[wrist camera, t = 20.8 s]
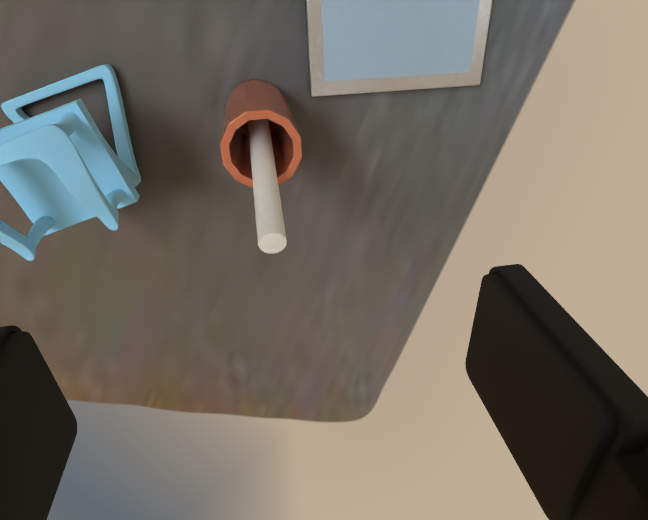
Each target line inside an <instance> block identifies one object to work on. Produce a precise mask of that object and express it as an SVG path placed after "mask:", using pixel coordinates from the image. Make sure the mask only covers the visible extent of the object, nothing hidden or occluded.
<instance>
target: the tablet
mask: <svg viewBox="0 0 648 520" xmlns="http://www.w3.org/2000/svg"><path fill="white" fill-rule="evenodd" d="M305 6H306V27H307V48H308V69H309V90H310V95H311V97H317V96H331V95H345V94H359V93H374V92H388V91H402V90H416V89H431V88H445V87H459V86H473V85H480V81H481V74H482V67H483V61H484V54H485V47H486V40H487V34H488V27H489V20H490V13H491V6H492V0H305Z"/></svg>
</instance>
